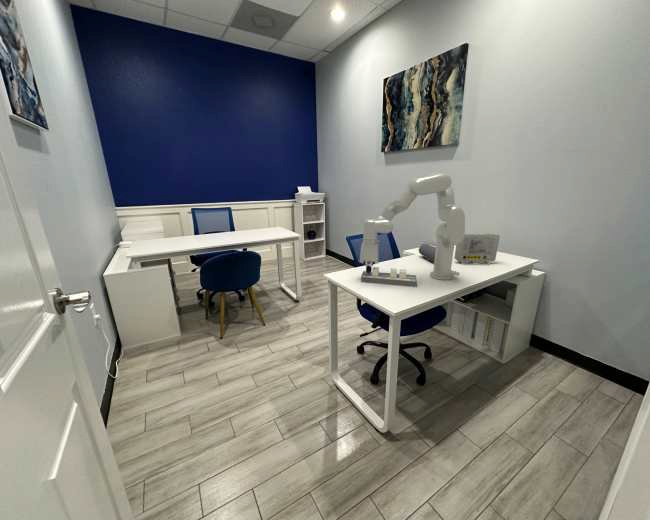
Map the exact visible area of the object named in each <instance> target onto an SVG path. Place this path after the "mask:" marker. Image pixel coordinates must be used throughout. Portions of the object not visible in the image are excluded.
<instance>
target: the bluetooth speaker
mask: <svg viewBox="0 0 650 520" xmlns="http://www.w3.org/2000/svg"><path fill="white" fill-rule="evenodd" d="M435 252H436V246H433V245H430V244H428V243H422V244H420V246H419V248H418V253H419V254H420V255H421V256H423V257H424V258H425V259H426V260H428V261H429V262H430V263H433V264H434V260H435Z"/></svg>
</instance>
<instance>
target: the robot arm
mask: <svg viewBox="0 0 650 520" xmlns="http://www.w3.org/2000/svg"><path fill="white" fill-rule="evenodd" d="M452 181H453V180H452V178H451V176H450V175H449V174H447V173H440V172H439V173H431V174H429V175H427V177H412V178H411V179H409V180H408V181H407V183H406V184H405V185H404V186H403V188H402V189H401V191H400V192H399V193H398V194H397V196H396V197H395V198H394V199H393V200H392V201H391V202H389V204H387V206H386V207H385V208H384V209H383V210H382V211H380V213H379V215H378V216H377V218H376V219H374V218H367V219H365V220H364V221H363V234H362V237H363V239H362V243H361V246H360V252H359V253H360V254H359V255H360V256H359V263H361V264H363V265H364V266H365V271H367V273H368V272H369V273H370V272H372V269H373V267H374V265H377V264H379V263H380V262H379V254H380V253H379V251H380V250H379V249H380V248H379V243H380V239H378V234H389V233H391V232H393V229H394V224H393V222H392V220H393V218H394V217H396V216H397V215H398V214H400V213H403V212H405V211H406V210H407V209H409V208H410V207H411V205H412V203H413V202H414V201H415V200H416V198H418V196H426V195H432V194H436V199H437V217H438V219H439V220H441V221H442V222H444V223H441V224H439V225H438V227H437V228H436V232H435V234H436V235H435V236H436V239H435V240H436V244H435V247H436V252H435V260H434V263H433V268H432V269H433V270H432V271H431V272H430V273H429V276H430V277H431V278H432V279H437V280H442V281H449V280H453V278H454V276H460V271H456V270H452V266H453V259H454V253H455V251H454V250H455V245H456V244H458V243H460V242H461V241H462V240H463V239H464V236H465V234H466V215H465V214H466V213H465V212H464V209H463V208H462V207H461V206H459V205H456V199H455V192H454V189H453V186H452V183H453V182H452Z"/></svg>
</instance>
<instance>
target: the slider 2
mask: <svg viewBox="0 0 650 520" xmlns="http://www.w3.org/2000/svg"><path fill="white" fill-rule="evenodd" d="M398 274H399V278H406V275H407V269H402V268H399V273H398Z"/></svg>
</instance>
